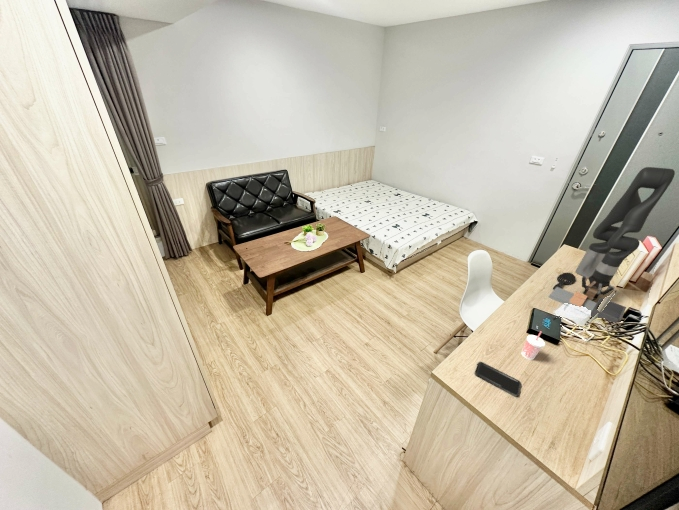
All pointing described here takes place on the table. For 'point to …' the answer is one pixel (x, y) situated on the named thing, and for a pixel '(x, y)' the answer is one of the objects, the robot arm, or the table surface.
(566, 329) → the phone case
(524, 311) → the table surface
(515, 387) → the phone
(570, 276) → the hairbrush
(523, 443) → the table surface
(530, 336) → the beverage cup
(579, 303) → the tile
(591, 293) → the brown wooden block
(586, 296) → the tile
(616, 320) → the tray
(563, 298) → the board
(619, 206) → the robot arm
